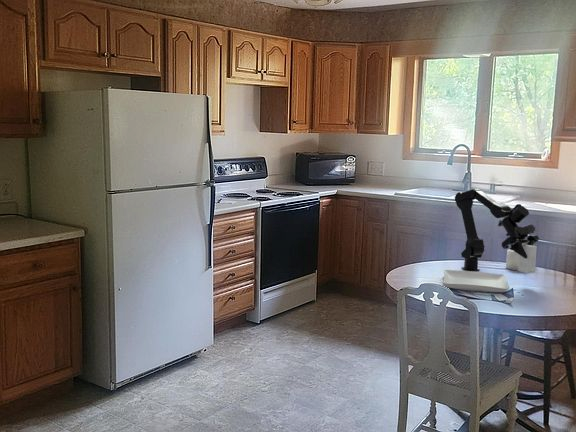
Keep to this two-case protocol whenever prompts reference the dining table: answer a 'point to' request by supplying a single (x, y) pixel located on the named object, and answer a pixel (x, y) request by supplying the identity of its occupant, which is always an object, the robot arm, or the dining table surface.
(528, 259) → the skincare box
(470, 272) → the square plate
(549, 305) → the dining table surface
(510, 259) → the pale grey cylinder
